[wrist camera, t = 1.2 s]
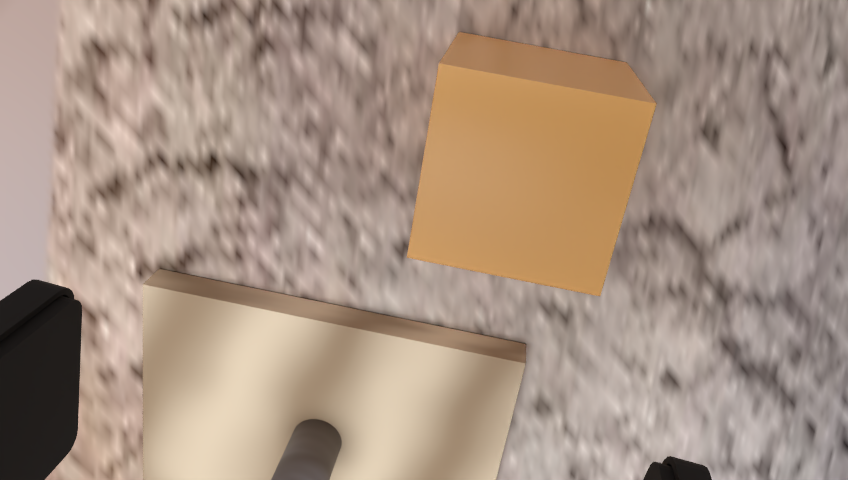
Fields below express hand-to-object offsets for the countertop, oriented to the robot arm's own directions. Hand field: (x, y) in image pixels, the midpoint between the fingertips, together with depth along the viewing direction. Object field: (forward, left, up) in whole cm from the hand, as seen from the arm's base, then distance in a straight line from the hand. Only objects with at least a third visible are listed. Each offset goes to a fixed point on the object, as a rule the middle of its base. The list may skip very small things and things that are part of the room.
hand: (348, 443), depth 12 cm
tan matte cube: (-3, -1, -18) cm, 18 cm away
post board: (+3, +14, -18) cm, 23 cm away
